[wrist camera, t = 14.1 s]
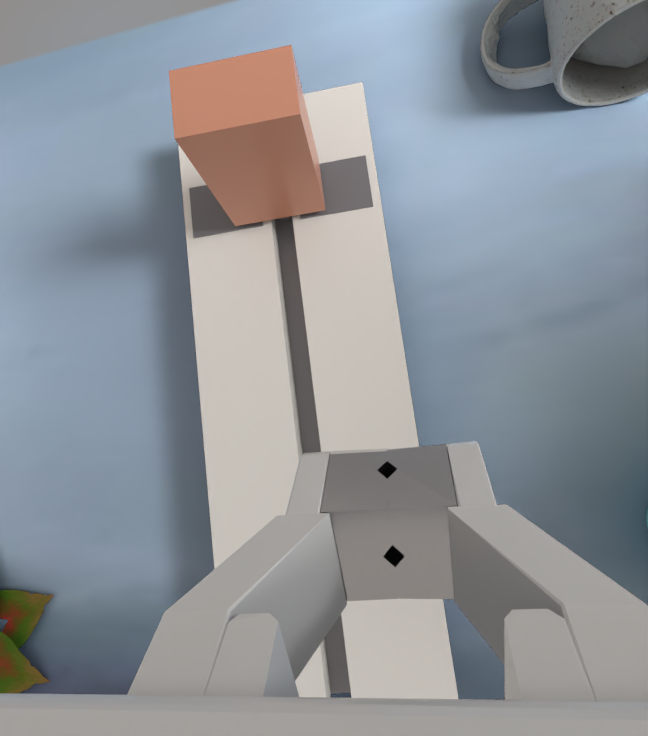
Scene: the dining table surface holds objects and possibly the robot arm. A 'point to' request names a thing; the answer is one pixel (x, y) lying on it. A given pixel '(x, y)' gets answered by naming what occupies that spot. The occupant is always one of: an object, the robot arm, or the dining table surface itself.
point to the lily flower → (18, 639)
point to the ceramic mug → (579, 50)
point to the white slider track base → (309, 383)
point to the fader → (249, 135)
